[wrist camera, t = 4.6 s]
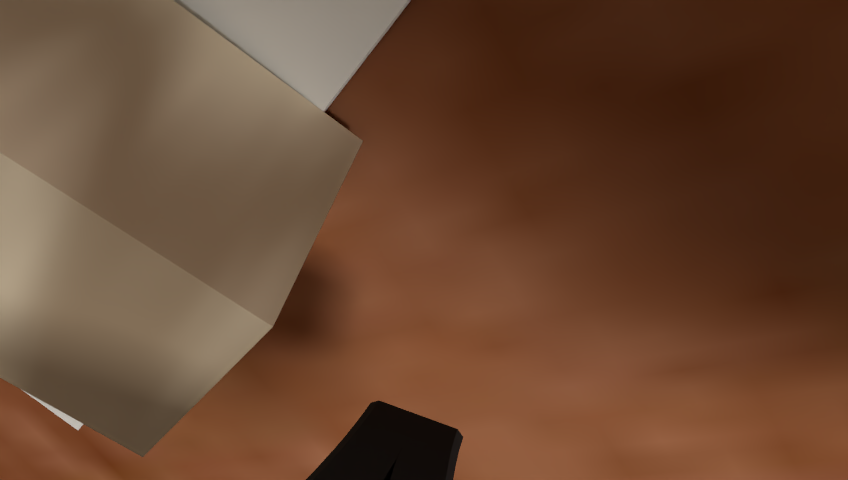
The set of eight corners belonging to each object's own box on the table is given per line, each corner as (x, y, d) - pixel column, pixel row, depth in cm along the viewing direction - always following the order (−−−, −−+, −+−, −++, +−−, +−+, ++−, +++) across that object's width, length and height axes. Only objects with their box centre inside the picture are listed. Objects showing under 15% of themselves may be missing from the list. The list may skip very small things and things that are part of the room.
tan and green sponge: (272, 326, 9) (-261, -15, 7) (142, 457, 11) (-280, 221, 10) (363, 140, 12) (-2, -129, 10) (244, 275, 14) (-65, 73, 13)
